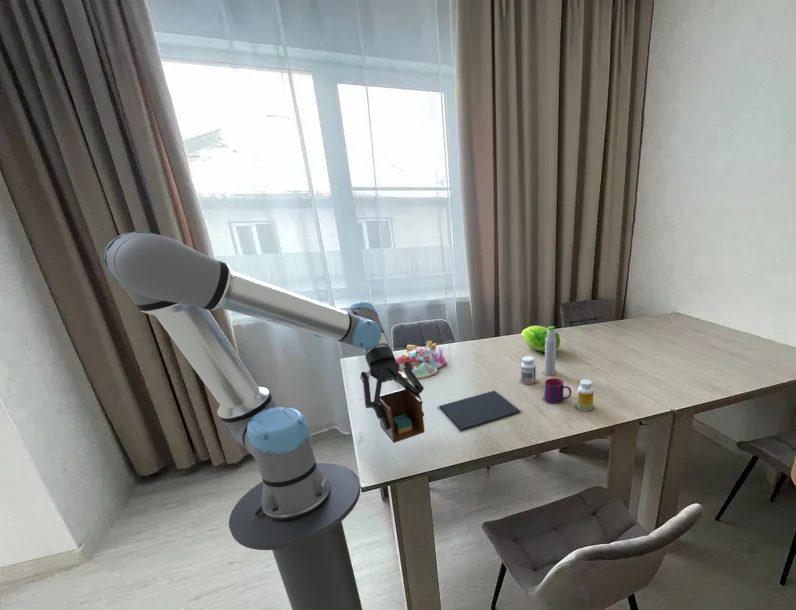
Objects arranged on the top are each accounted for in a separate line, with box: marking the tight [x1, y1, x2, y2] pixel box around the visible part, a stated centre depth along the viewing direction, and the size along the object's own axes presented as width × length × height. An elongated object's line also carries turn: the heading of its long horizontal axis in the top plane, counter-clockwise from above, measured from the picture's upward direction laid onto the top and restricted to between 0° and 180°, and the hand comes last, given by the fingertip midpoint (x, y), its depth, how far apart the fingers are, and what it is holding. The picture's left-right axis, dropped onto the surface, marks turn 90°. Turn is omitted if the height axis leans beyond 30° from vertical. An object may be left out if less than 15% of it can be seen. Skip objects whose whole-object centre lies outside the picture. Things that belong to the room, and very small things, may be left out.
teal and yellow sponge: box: [392, 414, 412, 430], centre depth 112 cm, size 5×4×1 cm
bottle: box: [544, 325, 557, 376], centre depth 161 cm, size 4×4×20 cm
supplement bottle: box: [576, 379, 595, 411], centre depth 137 cm, size 5×5×10 cm
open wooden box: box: [379, 388, 426, 444], centre depth 111 cm, size 10×9×10 cm
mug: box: [543, 377, 572, 404], centre depth 142 cm, size 7×10×7 cm
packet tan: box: [393, 424, 412, 434], centre depth 112 cm, size 5×4×1 cm
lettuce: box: [520, 325, 561, 353], centre depth 188 cm, size 13×23×12 cm, turn 41°
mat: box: [438, 390, 521, 432], centre depth 137 cm, size 22×18×1 cm
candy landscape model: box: [395, 340, 446, 380], centre depth 171 cm, size 25×24×9 cm
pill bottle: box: [520, 355, 537, 385], centre depth 156 cm, size 6×6×10 cm
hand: (405, 422), depth 109 cm, fingers closed on open wooden box, 9 cm apart
